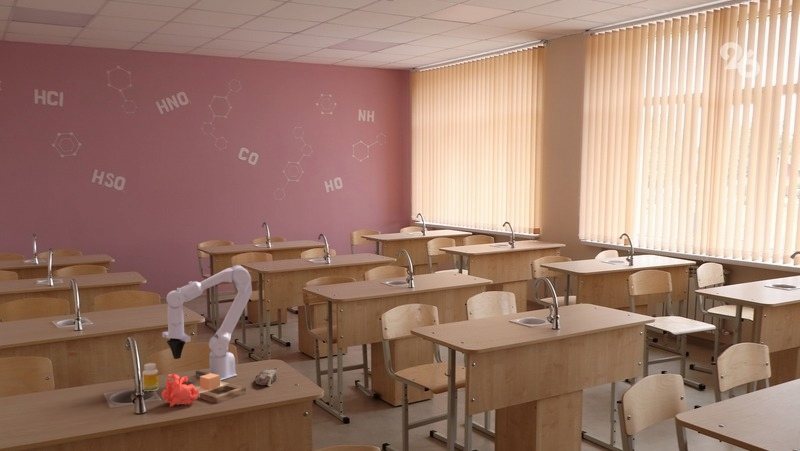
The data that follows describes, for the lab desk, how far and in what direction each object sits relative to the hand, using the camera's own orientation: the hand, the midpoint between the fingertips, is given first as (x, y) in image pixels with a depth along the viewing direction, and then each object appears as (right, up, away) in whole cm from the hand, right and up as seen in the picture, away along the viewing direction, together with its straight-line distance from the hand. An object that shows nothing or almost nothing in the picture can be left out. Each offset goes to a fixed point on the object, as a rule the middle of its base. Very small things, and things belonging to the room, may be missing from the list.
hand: (177, 358), depth 257 cm
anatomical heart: (+9, -12, -24) cm, 28 cm away
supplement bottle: (-7, -10, -8) cm, 15 cm away
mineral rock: (+33, -9, +1) cm, 35 cm away
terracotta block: (+16, -8, -11) cm, 21 cm away
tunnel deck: (+14, -10, -10) cm, 19 cm away
